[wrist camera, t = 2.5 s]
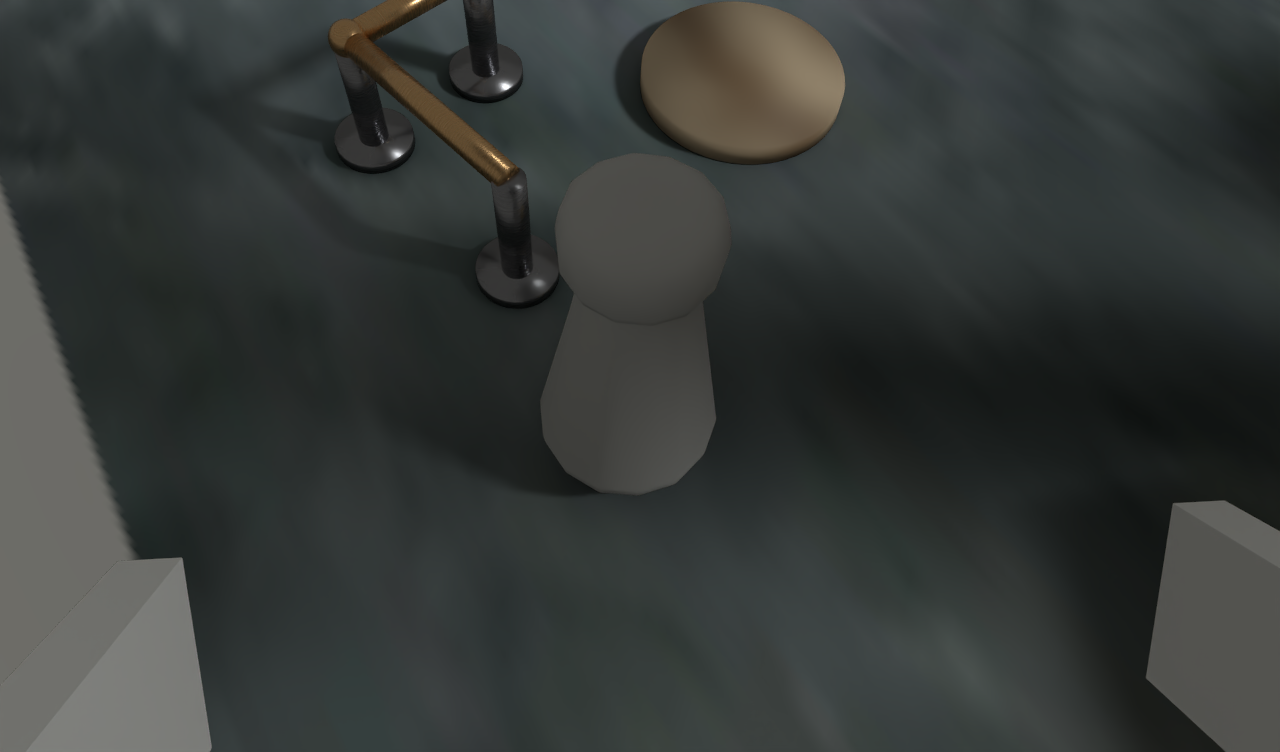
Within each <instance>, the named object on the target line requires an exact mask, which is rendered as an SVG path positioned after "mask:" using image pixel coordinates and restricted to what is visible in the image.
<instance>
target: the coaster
mask: <svg viewBox="0 0 1280 752" xmlns="http://www.w3.org/2000/svg"><path fill="white" fill-rule="evenodd" d="M640 89H641V95H642V99H643V103H644V105H645V107H646V110H647V112H648V113H649V115H650V116H651V118H652V120H653V121H654V122H655V123H656V125H657V126H658V127H659V128H660V129H661V130H662V131H663V132H664V133H665V134H666V135H667V136H669V137H670V138H671V139H672V140H674V141H675V142H677V143H678V144H680V145H681V146H683V147H685V148H687V149H689V150H690V151H692V152H695V153H697V154H700V155H702V156H704V157H708V158H711V159H714V160H718V161H723V162H728V163H736V164H765V163H773V162H778V161H782V160H786V159H789V158H792V157H794V156H797V155H799V154H801V153H803V152H805V151H807V150H809V149H810V148H812V147H813V146H815V145H816V144H817V143H818V142H819V141H820V140H822V139H823V138H824V137H825V135H826V134H827V133H828V132H829V130H830V129H831V127H832V126H833V124H834V122H835V120H836V117H837V114H838V111H839V108H840V105H841V102H842V98H843V95H844V89H845V75H844V71H843V67H842V64H841V62H840V59H839V57H838V55H837V54H836V52H835V50H834V49H833V47H832V46H831V45H830V43H829V42H828V41H827V40H826V39H825V38H824V37H823V36H822V35H821V34H820V33H819V32H818V31H817V30H815V29H814V28H813V27H811V26H810V25H809V24H807V23H806V22H804V21H802V20H801V19H799V18H797V17H795V16H793V15H791V14H789V13H786V12H784V11H781V10H778V9H776V8H772V7H768V6H765V5H760V4H754V3H747V2H717V3H710V4H704V5H700V6H697V7H693V8H690V9H687V10H685V11H683V12H680V13H678V14H677V15H675V16H673V17H671V18H670V19H668V20H667V21H666V22H664V23H663V24H662V25H661V26H660V27H659V28H658V29H657V30H656V31H655V32H654V33H653V35H652V36H651V37H650V39H649V40H648V42H647V44H646V46H645V49H644V52H643V56H642V64H641V78H640Z"/></svg>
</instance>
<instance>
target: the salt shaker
mask: <svg viewBox="0 0 1280 752" xmlns="http://www.w3.org/2000/svg"><path fill="white" fill-rule="evenodd" d="M555 234H556V244H557V254H558V263H559V272H560V274H561V276H562V277H563V279H564V280H565V282H566V283H567V284H568V286H569V287H570V288H571V290H572V291H573V292H574V295H573V299H572V302H571V306H570V309H569V312H568V316H567V319H566V322H565V325H564V328H563V331H562V334H561V337H560V340H559V344H558V347H557V350H556V353H555V356H554V359H553V362H552V365H551V368H550V371H549V375H548V378H547V381H546V384H545V387H544V390H543V393H542V396H541V399H540V407H541V418H542V429H543V437H544V440H545V442H546V444H547V445H548V447H549V448H550V450H551V451H552V453H553V454H554V456H555V457H556V458H557V460H558V461H559V463H560V464H561V466H562V467H563V469H564V470H565V472H566V473H568V474H569V475H571V476H573V477H574V478H576V479H578V480H579V481H581V482H583V483H584V484H586V485H588V486H589V487H591V488H593V489H594V490H596V491H598V492H600V493H612V494H624V495H635V496H639V495H642V494H645V493H648V492H652V491H655V490H658V489H661V488H665V487H668V486H671V485H674V484H676V483H677V482H678V481H679V480H680V479H681V478H682V477H683V476H684V475H685V474H686V473H687V472H688V471H689V470H690V468H691V467H692V466H693V465H694V464H695V463H696V462H697V461H698V460H699V459H700V458H701V457H702V456H703V454H704V453H705V450H706V448H707V445H708V442H709V439H710V436H711V433H712V430H713V427H714V425H715V422H716V413H715V404H714V395H713V387H712V378H711V369H710V360H709V351H708V342H707V334H706V325H705V316H704V307H703V301H704V300H705V299H706V298H707V297H708V296H709V295H710V294H711V293H712V292H713V291H714V290H715V289H716V287H717V284H718V281H719V279H720V276H721V273H722V270H723V268H724V265H725V262H726V259H727V256H728V254H729V251H730V248H731V245H732V242H731V226H730V222H729V218H728V214H727V210H726V206H725V202H724V198H723V196H722V195H721V194H720V193H719V192H718V191H717V189H716V188H715V187H714V186H713V185H712V184H711V182H710V181H709V180H708V179H707V178H706V176H705V175H704V174H703V173H702V172H700V171H698V170H696V169H694V168H692V167H689V166H687V165H685V164H683V163H681V162H679V161H677V160H675V159H673V158H671V157H666V156H657V155H648V154H640V153H631V154H627V155H623V156H619V157H615V158H611V159H607V160H604V161H600V162H598V163H596V164H595V165H593V166H592V167H591V168H589V169H588V170H586V171H585V172H584V173H582V174H581V175H580V176H578V177H577V178H575V179H574V180H573V181H571V183H570V186H569V188H568V190H567V192H566V194H565V197H564V199H563V201H562V203H561V205H560V208H559V210H558V214H557V218H556V223H555Z"/></svg>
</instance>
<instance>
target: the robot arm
mask: <svg viewBox="0 0 1280 752" xmlns="http://www.w3.org/2000/svg"><path fill="white" fill-rule="evenodd" d="M1146 679H1147V680H1148V681H1149V682H1151V683H1152V684H1153V685H1154V686H1155V687H1156V688H1157V689H1158V690H1159V691H1160V692H1161V693H1162V694H1164V695H1165V696H1166V697H1167V698H1168V699H1169V700H1170V701H1171V702H1172V703H1173V704H1174V705H1175V706H1177V707H1178V708H1179V709H1180V710H1181V711H1182V712H1183V713H1184V714H1185V715H1186V716H1187V717H1188V718H1190V719H1191V720H1192V721H1193V722H1194V723H1195V724H1196V725H1197V726H1198V727H1199V728H1200V729H1202V730H1203V731H1204V732H1205V733H1206V734H1207V735H1208V736H1209V737H1210V738H1211V739H1212V740H1213V741H1215V742H1216V743H1217V744H1218V745H1219V746H1220V747H1221V748H1222V749H1223V750H1224V751H1225V752H1280V531H1278V530H1277V529H1275V528H1273V527H1271V526H1269V525H1268V524H1266V523H1264V522H1262V521H1260V520H1259V519H1257V518H1255V517H1253V516H1251V515H1250V514H1248V513H1246V512H1244V511H1243V510H1241V509H1239V508H1237V507H1235V506H1234V505H1232V504H1230V503H1228V502H1226V501H1225V500H1224V501H1206V502H1187V503H1173V506H1172V512H1171V519H1170V525H1169V531H1168V538H1167V544H1166V551H1165V557H1164V564H1163V570H1162V577H1161V583H1160V590H1159V596H1158V603H1157V609H1156V616H1155V622H1154V629H1153V635H1152V642H1151V648H1150V654H1149V661H1148V667H1147V674H1146ZM211 748H212V746H211V740H210V733H209V727H208V720H207V714H206V708H205V701H204V695H203V688H202V682H201V675H200V669H199V662H198V656H197V650H196V643H195V637H194V630H193V624H192V617H191V611H190V604H189V598H188V592H187V585H186V579H185V572H184V566H183V559H182V558H165V559H146V560H128V561H117V562H116V563H115V564H114V565H113V566H112V568H111V569H110V570H109V571H108V572H107V573H106V574H105V575H104V576H103V577H102V578H101V579H100V580H99V581H98V582H97V583H96V584H95V586H93V588H92V589H91V590H90V591H89V592H88V593H87V594H86V595H85V596H84V597H83V598H82V599H81V600H80V601H79V602H78V604H76V606H75V607H74V608H73V609H72V610H71V611H70V612H69V613H68V614H67V615H66V616H65V617H64V618H63V619H62V620H61V622H59V624H58V625H57V626H56V627H55V628H54V629H53V630H52V631H51V632H50V633H49V634H48V635H47V636H46V637H45V638H44V639H43V640H42V642H41V643H40V644H39V645H38V646H37V647H36V648H35V649H34V650H33V651H32V652H31V653H30V654H29V655H28V656H27V657H26V658H25V660H24V661H23V662H22V663H21V664H20V665H19V666H18V667H17V668H16V669H15V670H14V671H13V672H12V673H11V674H10V675H9V677H8V678H7V679H6V680H5V681H4V682H3V683H2V684H1V685H0V752H210V750H211Z"/></svg>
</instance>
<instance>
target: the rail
mask: <svg viewBox="0 0 1280 752" xmlns="http://www.w3.org/2000/svg"><path fill="white" fill-rule="evenodd" d="M445 1H447V0H387V1H385V2H383V3H381V4H380V5H378V6H376V7H374V8H372V9H370V10H369V11H367V12H365V13H363V14H361V15H359V16H358V17H356V18H354V19H340V20H338V21H336V22H334V23H333V24H332V26H331V27H330V29H329V32H328V42H329V45H330V47H331V49H332V50H333V51H334V53H335V56H336V59H337V63H338V66H339V70H340V73H341V77H342V80H343V83H344V87H345V90H346V94H347V97H348V101H349V104H350V107H351V111H352V114H351V115H349V116H348V117H346V118H345V119H344V120H343V121H342V122H341V123H340V125H339V126H338V128H337V130H336V133H335V145H336V148H337V151H338V154H339V156H340V158H341V160H342V161H343V162H344V163H345V164H346V165H347V166H349V167H350V168H352V169H354V170H356V171H360V172H364V173H382V172H387V171H390V170H393V169H395V168H397V167H399V166H401V165H402V164H403V163H405V162H406V161H407V160H408V159H409V157H410V156H411V155H412V153H413V151H414V147H415V137H414V132H413V128H412V125H411V123H410V122H409V120H408V119H407V118H406V117H405V116H403V115H402V114H401V113H399V112H397V111H395V110H392V109H388V108H382V105H381V101H380V97H379V93H378V89H377V85H376V82H377V83H378V84H379V85H380V86H381V87H382V88H384V89H385V90H386V91H387V92H388V93H389V94H390V95H392V96H393V97H394V98H395V99H396V100H397V101H398V102H400V103H401V104H402V105H403V106H404V107H405V108H406V109H407V110H409V111H410V112H411V113H412V114H413V115H414V116H415V117H417V118H418V119H419V120H420V121H421V122H422V123H423V124H425V125H426V126H427V127H428V128H429V129H430V130H431V131H432V132H434V133H435V134H436V135H437V136H438V137H439V138H440V139H442V140H443V141H444V142H445V143H446V144H447V145H448V146H449V147H451V148H452V149H453V150H454V151H455V152H456V153H457V154H459V155H460V156H461V157H462V158H463V159H464V160H465V161H467V162H468V163H469V164H470V165H471V166H472V167H473V168H474V169H476V170H477V171H478V172H479V173H480V174H481V175H482V176H484V177H485V178H486V179H487V180H488V181H489V182H490V183H491V186H492V194H493V202H494V210H495V218H496V226H497V233H498V238H496V239H494V240H492V241H490V242H489V243H488V244H487V245H486V246H485V247H484V248H483V249H482V250H481V252H480V253H479V255H478V257H477V260H476V268H475V269H476V276H477V282H478V285H479V287H480V289H481V291H482V292H483V294H484V295H485V296H486V297H487V298H488V299H490V300H491V301H493V302H494V303H496V304H498V305H501V306H504V307H509V308H526V307H530V306H533V305H536V304H538V303H540V302H542V301H544V300H545V299H546V298H548V297H549V296H550V295H551V294H552V293H553V291H554V290H555V288H556V286H557V284H558V281H559V263H558V257H557V254H556V252H555V251H554V249H553V248H552V247H551V246H550V245H549V244H548V243H547V242H546V241H544V240H543V239H541V238H539V237H536V236H534V235H531V231H530V218H529V204H528V191H527V178H526V174H525V173H524V171H523V170H522V169H520V168H518V167H517V166H516V165H515V164H513V163H512V162H511V161H510V160H509V159H508V158H507V157H505V156H504V155H503V154H502V153H501V152H500V151H498V150H497V149H496V148H495V147H494V146H493V145H491V144H490V143H489V142H488V141H487V140H486V139H484V138H483V137H482V136H481V135H480V134H479V133H477V132H476V131H475V130H474V129H473V128H472V127H471V126H469V125H468V124H467V123H466V122H465V121H464V120H462V119H461V118H460V117H459V116H458V115H457V114H455V113H454V112H453V111H452V110H451V109H450V108H448V107H447V106H446V105H445V104H444V103H443V102H441V101H440V100H439V99H438V98H437V97H436V96H434V95H433V94H432V93H431V92H430V91H429V90H428V89H426V88H425V87H424V86H423V85H422V84H421V83H419V82H418V81H417V80H416V79H415V78H414V77H412V76H411V75H410V74H409V73H408V72H407V71H405V70H404V69H403V68H402V67H401V66H400V65H398V64H397V63H396V62H395V61H394V60H393V59H391V58H390V57H389V56H388V55H387V54H386V53H385V52H383V51H382V50H381V49H380V48H379V47H378V46H376V45H375V44H374V43H373V42H374V41H376V40H377V39H379V38H381V37H383V36H384V35H386V34H388V33H390V32H392V31H393V30H395V29H397V28H399V27H400V26H402V25H404V24H406V23H408V22H409V21H411V20H413V19H415V18H417V17H418V16H420V15H422V14H424V13H425V12H427V11H429V10H431V9H433V8H434V7H436V6H438V5H440V4H441V3H443V2H445ZM463 4H464V11H465V19H466V27H467V34H468V42H469V46H466V47H464V48H462V49H461V50H459V51H458V52H457V53H456V54H455V55H454V56H453V58H452V59H451V61H450V64H449V74H450V80H451V84H452V86H453V88H454V89H455V91H456V92H457V93H458V94H460V95H461V96H462V97H464V98H466V99H468V100H471V101H475V102H481V103H491V102H497V101H501V100H504V99H506V98H508V97H510V96H511V95H513V94H514V93H515V92H516V91H517V90H518V89H519V88H520V86H521V84H522V81H523V68H522V62H521V59H520V58H519V56H518V55H517V54H516V53H515V52H514V51H513V50H512V49H510V48H508V47H506V46H504V45H501V44H497V36H496V26H495V16H494V5H493V0H463Z"/></svg>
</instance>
